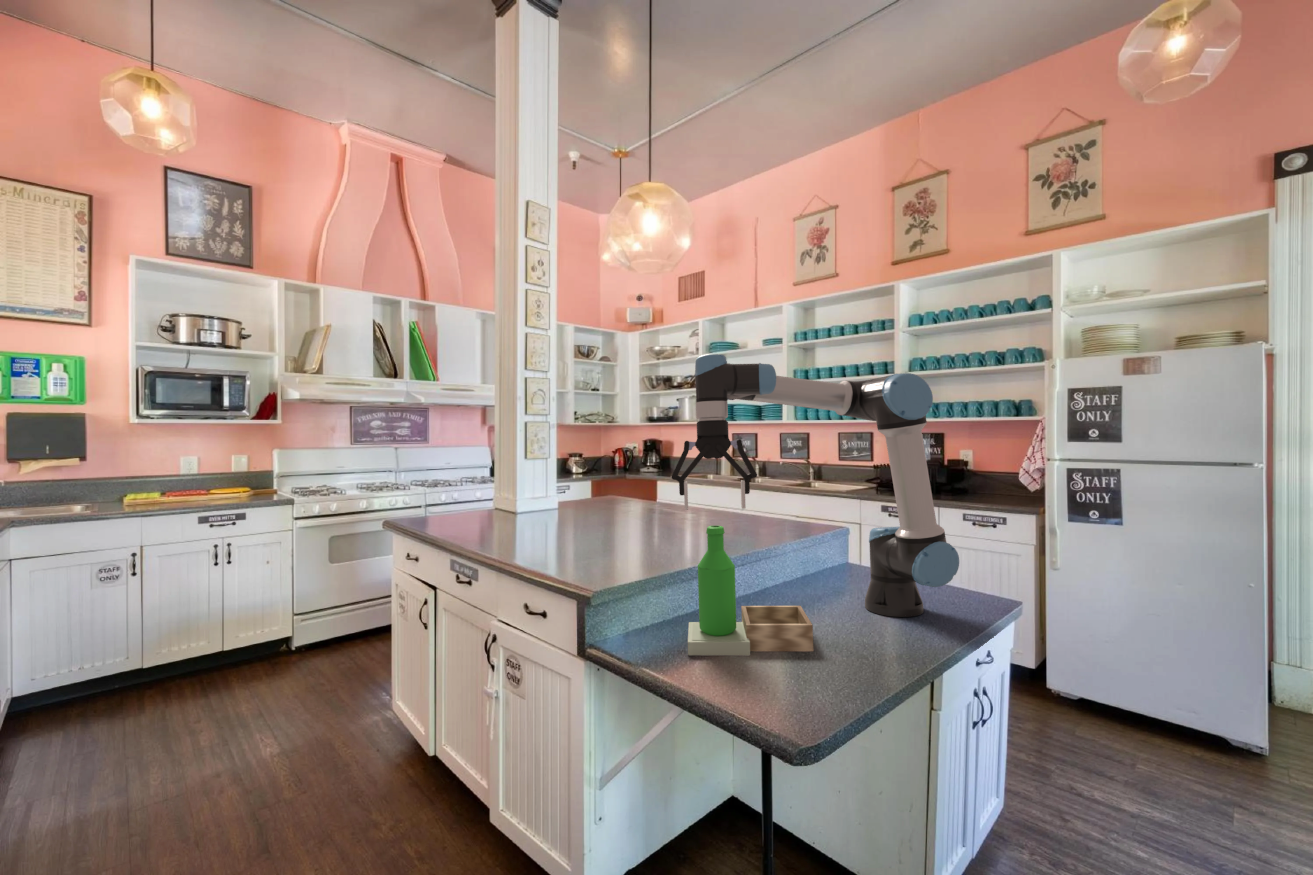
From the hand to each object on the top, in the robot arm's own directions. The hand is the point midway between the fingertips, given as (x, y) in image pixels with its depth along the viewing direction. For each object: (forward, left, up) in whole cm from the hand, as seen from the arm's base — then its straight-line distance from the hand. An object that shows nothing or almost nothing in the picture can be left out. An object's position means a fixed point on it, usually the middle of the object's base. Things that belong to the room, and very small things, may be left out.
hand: (714, 508), depth 134 cm
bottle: (0, 0, -29) cm, 29 cm away
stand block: (0, 0, -32) cm, 32 cm away
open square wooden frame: (-14, -3, -32) cm, 35 cm away
